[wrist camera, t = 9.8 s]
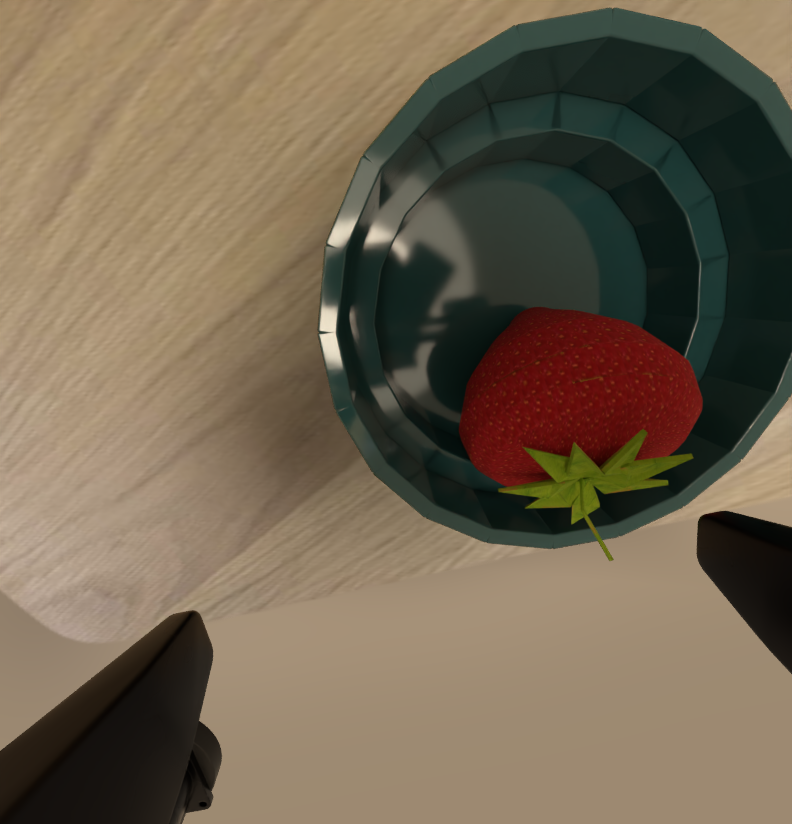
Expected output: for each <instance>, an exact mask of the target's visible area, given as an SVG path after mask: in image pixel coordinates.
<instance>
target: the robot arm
mask: <svg viewBox="0 0 792 824" xmlns="http://www.w3.org/2000/svg"><path fill="white" fill-rule="evenodd" d="M697 535H698V536H697V558H698V561H699V564H700V565H701V567H702V569H703V570H704V571H705V573H706V574H707V575H708V576H709V577H710V579H711V580H712V581H713V582H714V583H715V585H716V586H717V587H718V589H719V590H720V591H721V592H722V593H723V595H724V596H725V597H726V598H727V599H728V601H729V602H730V603H731V604H732V606H733V607H734V608H735V609H736V610H737V612H738V613H739V614H740V615H741V617H742V618H743V619H744V620H745V621H746V622H747V624H748V625H749V626H750V628H751V629H752V630H753V631H754V632H755V634H756V635H757V636H758V637H759V638H760V639H761V641H762V642H763V643H764V644H765V645H766V647H767V648H768V649H769V650H770V651H771V652H772V653H773V654H774V656H775V657H776V658H777V659H778V660H779V661H780V662H781V663H782V664H783V665H784V666H785V667H786V668H787V669H788V671H789V672H790V673H791V674H792V527H789V526H785V525H781V524H777V523H773V522H769V521H765V520H761V519H757V518H753V517H749V516H745V515H741V514H737V513H733V512H729V511H720V512H714V513H709V514H704V515H703V516H701V517H700V519H699V521H698V533H697ZM212 661H213V649H212V644H211V642H210V639H209V637H208V634H207V631H206V628H205V625H204V623H203V620H202V617H201V615H200V614H199V613H198V612H197V611H194V610H192V611H186V612H181V613H176V614H173V615H171V616H169V617H168V618H166V619H165V620H164V621H163V622H161V623H160V624H159V625H158V626H156V627H155V628H154V629H153V630H151V631H150V632H149V633H148V634H146V635H145V636H144V637H143V638H141V639H140V640H139V641H138V642H136V643H135V644H134V645H133V646H131V647H130V648H129V649H128V650H126V651H125V652H124V653H123V654H122V655H120V656H119V657H118V658H116V659H115V660H114V661H113V662H111V663H110V664H109V665H108V666H106V667H105V668H104V669H103V670H101V671H100V672H99V673H98V674H96V675H95V676H94V677H92V678H91V679H90V680H89V681H87V682H86V683H85V684H84V685H82V686H81V687H80V688H79V689H77V691H75V692H74V693H73V694H71V695H70V696H69V697H67V698H66V699H65V700H64V701H62V702H61V703H60V704H59V705H57V706H56V707H55V708H54V709H52V710H51V711H50V712H49V713H47V714H46V715H45V716H44V717H42V718H41V719H40V720H39V721H38V722H36V723H35V724H34V725H33V726H31V727H30V728H29V729H27V730H26V731H25V732H24V733H22V734H21V735H20V736H19V737H17V738H16V739H15V740H14V741H12V742H11V743H10V744H8V745H7V746H6V747H5V748H3V749H2V750H1V751H0V824H182V822H183V820H184V817H185V814H186V813H188V812H194V811H199V810H205V809H208V808H209V807H210V806H211V803H212V800H213V794H212V792H211V790H210V788H209V785H208V783H207V781H206V779H205V777H204V774H203V772H202V770H201V768H200V766H199V763H198V761H197V759H196V757H195V755H194V752H193V750H192V748H193V744H194V739H195V735H196V731H197V726H198V722H199V718H200V713H201V709H202V705H203V700H204V696H205V692H206V687H207V683H208V679H209V675H210V670H211V666H212Z"/></svg>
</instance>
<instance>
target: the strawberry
mask: <svg viewBox="0 0 792 824" xmlns="http://www.w3.org/2000/svg"><path fill="white" fill-rule="evenodd" d="M702 404H703V399H702V396H701V393H700V390H699V386H698V383H697V380H696V377H695V374H694V371H693V369H692V367H691V365H690V363H689V361H688V360H687V359H686V358H685V357H683V356H682V355H681V354H680V353H678V352H677V351H675V350H674V349H672V348H671V347H669V346H668V345H666V344H665V343H663V342H662V341H660V340H659V339H657V338H656V337H654V336H653V335H651V334H650V333H648V332H647V331H645V330H644V329H642V328H641V327H639V326H637V325H635V324H632V323H629V322H627V321H623V320H619V319H614V318H610V317H605V316H601V315H596V314H592V313H587V312H583V311H577V310H564V309H550V308H546V307H532V308H529V309H526V310H524V311H522V312H520V313H519V314H518V315H517V316H516V317H515V318H514V319H513V320H512V321H511V323H510V325H509V326H508V327H507V328H506V329H505V330H504V331H503V332H502V333H501V334H500V335H499V336H498V337H497V338H496V339H495V341H494V342H493V343H492V344H491V346H490V347H489V349H488V350H487V352H486V353H485V355H484V356H483V358H482V360H481V361H480V363H479V364H478V366H477V367H476V369H475V370H474V372H473V373H472V375H471V377H470V379H469V381H468V383H467V386H466V392H465V397H464V403H463V408H462V414H461V419H460V425H459V433H460V438H461V441H462V443H463V445H464V447H465V449H466V452H467V454H468V456H469V458H470V460H471V463H472V464H473V465H474V467H475V468H476V469H477V470H478V471H480V472H481V473H483V474H484V475H486V476H488V477H489V478H491V479H493V480H495V481H496V482H498V483H500V484H502V485H504V486H507V487H504V488H499V489H498V491H499V492H502V493H509V494H517V495H524V496H532V497H539V498H537V499H536V500H534V501H533V502H531V503H530V504H528V505H526V507H525V508H559V507H571V506H572V515H571V525H572V524H573V523H575V522H577V521H578V520H580V519H581V518H583V517H584V518H585V520H586V522H587V523H588V525H589V527H590V529H591V530H592V532H593V534H594V535H595V537H596V539H597V540H598V542H599V544H600V546H601V547H602V549H603V551H604V552H605V554H606V556H607V557H608V559H609V561H612V560H613V558H612V556H611V555H610V553H609V551H608V549H607V548H606V546H605V544H604V542H603V541H602V539H601V537H600V536H599V534H598V532H597V530H596V529H595V527H594V525H593V524H592V522H591V520H590V518H589V517H588V514H589V513H591V512H593V511H594V510H596V509H597V508H599V507H600V502H599V500H598V497H597V494H596V491H595V488H594V486H595V487H596V488H597V489H599V490H600V491H601V492H602V493H604V494H609V493H616V492H623V491H630V490H637V489H644V488H651V487H658V486H666V485H668V480H659V479H648V478H649V477H652V476H654V475H656V474H659V473H661V472H663V471H665V470H668V469H670V468H672V467H675V466H677V465H679V464H682V463H684V462H686V461H688V460H691V459H693V456H692V454H683V455H675V456H669V455H670V454H671V453H673V452H674V451H675V450H676V449H678V448H679V446H680V445H681V444H682V443H683V442H684V441H685V440H686V438H687V436H688V435H689V433H690V431H691V429H692V428H693V426H694V424H695V423H696V421H697V419H698V417H699V415H700V413H701V411H702Z"/></svg>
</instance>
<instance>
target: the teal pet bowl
mask: <svg viewBox="0 0 792 824" xmlns="http://www.w3.org/2000/svg"><path fill="white" fill-rule="evenodd" d="M532 307H546V308H550V309H564V310H577V311H583V312H587V313H592V314H596V315H601V316H605V317H610V318H614V319H619V320H623V321H627V322H629V323H632V324H635V325H637V326H639V327H641V328H642V329H644V330H645V331H647V332H648V333H650V334H651V335H653V336H654V337H656V338H657V339H659V340H660V341H662V342H663V343H665V344H666V345H668V346H669V347H671V348H672V349H674V350H675V351H677V352H678V353H680V354H681V355H682V356H683V357H685V358H686V359H687V360H688V361H689V363H690V365H691V367H692V369H693V371H694V374H695V377H696V380H697V383H698V386H699V390H700V393H701V396H702V399H703V404H702V411H701V413H700V415H699V417H698V419H697V421H696V423H695V424H694V426H693V428H692V429H691V431H690V433H689V435H688V436H687V438H686V440H685V441H684V442H683V443H682V444H681V445H680V446H679V448H678V449H676V450H675V451H674V452H673V453H671V454H670V455H669V456H675V455H683V454H692V456H693V459H691V460H688V461H686V462H684V463H682V464H679V465H677V466H675V467H672V468H670V469H668V470H665V471H663V472H661V473H659V474H656V475H654V476H652V477H649V478H648V479H659V480H668V485H666V486H658V487H651V488H644V489H637V490H630V491H623V492H616V493H609V494H604V493H602V492H601V491H600V490H599V489H597V488H596V487H595V486H594V488H595V491H596V494H597V497H598V500H599V502H600V507H599V508H597V509H596V510H594V511H593V512H591V513H589V514H588V517H589V518H590V520H591V522H592V524H593V525H594V527H595V529H596V530H597V532H598V534H599V536H600V537H601V539H602V540H605V539H611V538H616V537H618V536H623V535H625V534H627V533H629V532H631V531H633V530H636V529H638V528H640V527H642V526H644V525H646V524H649V523H651V522H653V521H655V520H657V519H659V518H661V517H664V516H666V515H668V514H670V513H672V512H674V511H676V510H679V509H681V508H682V507H683V506H686V505H687V504H688V503H690V502H691V501H692V500H693V499H695V498H696V497H697V496H698V495H700V494H701V493H702V492H703V491H705V490H706V489H707V488H708V487H709V486H711V485H712V484H713V483H714V482H716V481H717V480H718V479H719V478H721V477H722V476H723V475H724V474H726V473H727V472H728V471H729V470H731V469H732V468H733V467H734V466H736V465H737V464H738V463H739V462H740V461H741V459H743V458H744V457H745V456H746V454H747V453H748V452H749V450H750V449H751V448H752V447H753V445H754V444H755V443H756V441H757V440H758V439H759V437H760V436H761V435H762V433H763V432H764V431H765V429H766V428H767V427H768V426H769V424H770V423H771V422H772V420H773V419H774V418H775V416H776V415H777V414H778V412H779V411H780V410H781V409H782V407H783V406H784V405H785V403H786V402H787V401H788V399H789V397H791V395H792V109H791V108H790V106H789V104H788V103H787V101H786V99H785V97H784V96H783V94H782V92H781V91H780V89H779V87H778V85H777V84H776V82H773V79H772V78H771V77H769V76H768V75H767V74H765V73H764V72H763V71H761V70H760V69H759V68H757V67H756V66H755V65H753V64H752V63H751V62H749V61H748V60H747V59H745V58H744V57H743V56H741V55H740V54H739V53H737V52H736V51H735V50H733V49H732V48H731V47H729V46H728V45H726V44H725V43H724V42H722V41H721V40H720V39H718V38H717V37H716V36H714V35H713V34H712V33H710V32H709V31H708V30H706V29H702V27H699V26H695V25H691V24H686V23H682V22H677V21H673V20H668V19H664V18H659V17H655V16H651V15H646V14H642V13H637V12H633V11H628V10H624V9H620V8H613V9H612V8H605V9H599V10H594V11H588V12H583V13H577V14H572V15H566V16H561V17H555V18H550V19H544V20H539V21H533V22H528V23H522V24H518V25H516V26H515V25H514V26H512V27H510V28H509V29H507V30H505V31H504V32H502V33H500V34H499V35H497V36H495V37H494V38H492V39H490V40H489V41H487V42H485V43H484V44H482V45H480V46H479V47H477V48H475V49H474V50H472V51H470V52H469V53H467V54H465V55H464V56H462V57H460V58H459V59H457V60H455V61H454V62H452V63H450V64H449V65H447V66H445V67H444V68H442V69H440V70H439V71H437V72H435V73H434V74H432V75H430V76H429V78H428V79H426V80H425V81H424V82H423V83H422V85H421V86H420V87H419V88H418V89H417V90H416V92H415V93H414V94H413V95H412V96H411V98H410V99H409V100H408V101H407V102H406V103H405V105H404V106H403V107H402V108H401V109H400V111H399V112H398V113H397V114H396V115H395V116H394V118H393V119H392V120H391V121H390V122H389V124H388V125H387V126H386V127H385V128H384V129H383V131H382V132H381V133H380V134H379V135H378V137H377V138H376V139H375V140H374V141H373V143H372V144H371V145H370V146H369V147H368V148H367V150H366V151H365V152H364V154H363V156H362V157H361V158H360V161H359V163H358V165H357V168H356V170H355V173H354V175H353V177H352V180H351V182H350V185H349V187H348V190H347V192H346V194H345V197H344V199H343V202H342V204H341V206H340V209H339V211H338V214H337V216H336V219H335V221H334V223H333V226H332V228H331V231H330V233H329V235H328V238H327V240H326V246H325V249H324V260H323V272H322V283H321V295H320V306H319V317H318V329H317V330H318V332H319V333H318V339H319V343H320V347H321V352H322V356H323V360H324V365H325V369H326V374H327V378H328V382H329V387H330V391H331V396H332V400H333V404H334V409H335V410H336V413H337V415H338V417H339V418H340V420H341V422H342V423H343V425H344V427H345V428H346V430H347V432H348V433H349V435H350V437H351V438H352V440H353V441H354V443H355V445H356V446H357V448H358V450H359V451H360V453H361V455H362V456H363V458H364V460H365V461H366V463H367V465H368V466H369V468H370V470H371V471H372V472H373V474H374V475H375V476H376V477H377V478H379V479H380V480H381V481H382V482H383V483H384V484H386V485H387V486H388V487H389V488H390V489H392V490H393V491H394V492H395V493H396V494H397V495H399V496H400V497H401V498H402V499H403V500H404V501H406V502H407V503H408V504H409V505H410V506H412V507H413V508H414V509H415V510H416V511H417V512H419V513H420V514H421V515H422V516H423V517H426V518H427V519H429V520H432V521H434V522H437V523H439V524H442V525H444V526H446V527H449V528H451V529H454V530H456V531H459V532H461V533H463V534H466V535H468V536H471V537H473V538H476V539H478V540H480V541H483V542H487V543H492V544H502V545H513V546H524V547H534V548H545V549H552V548H553V549H556V548H562V547H567V546H573V545H578V544H584V543H589V542H594V541H598V540H597V539H596V537H595V535H594V534H593V532H592V530H591V529H590V527H589V525H588V523H587V522H586V520H585V518H584V517H583V518H581V519H580V520H578V521H577V522H575V523H573V524H572V525H571V515H572V506H571V507H559V508H525V507H526V505H528V504H530V503H531V502H533V501H534V500H536V499H537V498H539V497H532V496H524V495H517V494H509V493H502V492H499V491H498V489H499V488H504V487H507V486H504V485H502V484H500V483H498V482H496V481H495V480H493V479H491V478H489V477H488V476H486V475H484V474H483V473H481V472H480V471H478V470H477V469H476V468H475V467H474V465H473V464H472V463H471V460H470V458H469V456H468V454H467V452H466V449H465V447H464V445H463V443H462V441H461V438H460V433H459V425H460V419H461V414H462V408H463V403H464V397H465V392H466V386H467V383H468V381H469V379H470V377H471V375H472V373H473V372H474V370H475V369H476V367H477V366H478V364H479V363H480V361H481V360H482V358H483V356H484V355H485V353H486V352H487V350H488V349H489V347H490V346H491V344H492V343H493V342H494V341H495V339H496V338H497V337H498V336H499V335H500V334H501V333H502V332H503V331H504V330H505V329H506V328H507V327H508V326H509V325H510V323H511V321H512V320H513V319H514V318H515V317H516V316H517V315H518V314H519V313H520V312H522V311H524V310H526V309H529V308H532Z"/></svg>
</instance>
